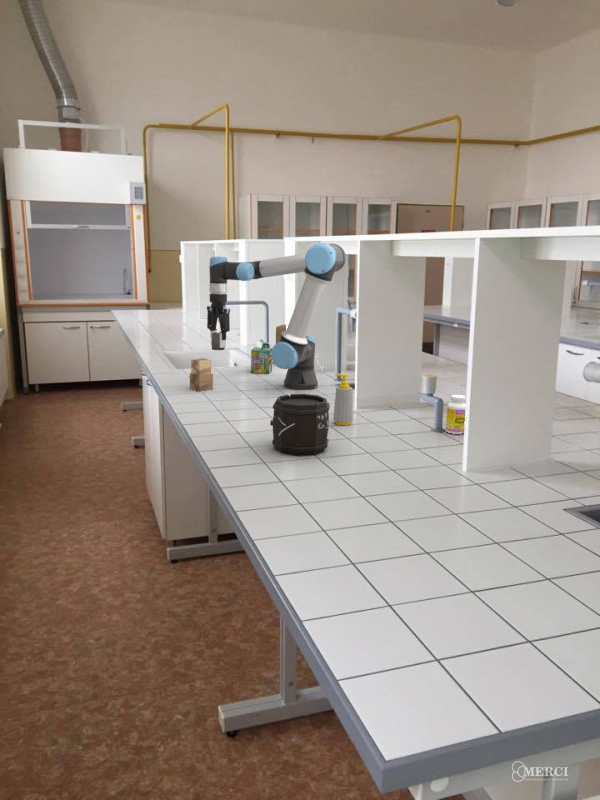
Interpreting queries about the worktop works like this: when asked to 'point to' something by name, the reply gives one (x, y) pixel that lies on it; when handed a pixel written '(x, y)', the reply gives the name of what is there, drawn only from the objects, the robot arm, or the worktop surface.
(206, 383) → the walnut cube
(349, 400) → the soap bottle
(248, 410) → the worktop surface
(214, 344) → the stopper
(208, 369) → the oak cube
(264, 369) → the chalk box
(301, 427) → the wooden barrel
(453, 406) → the supplement bottle
